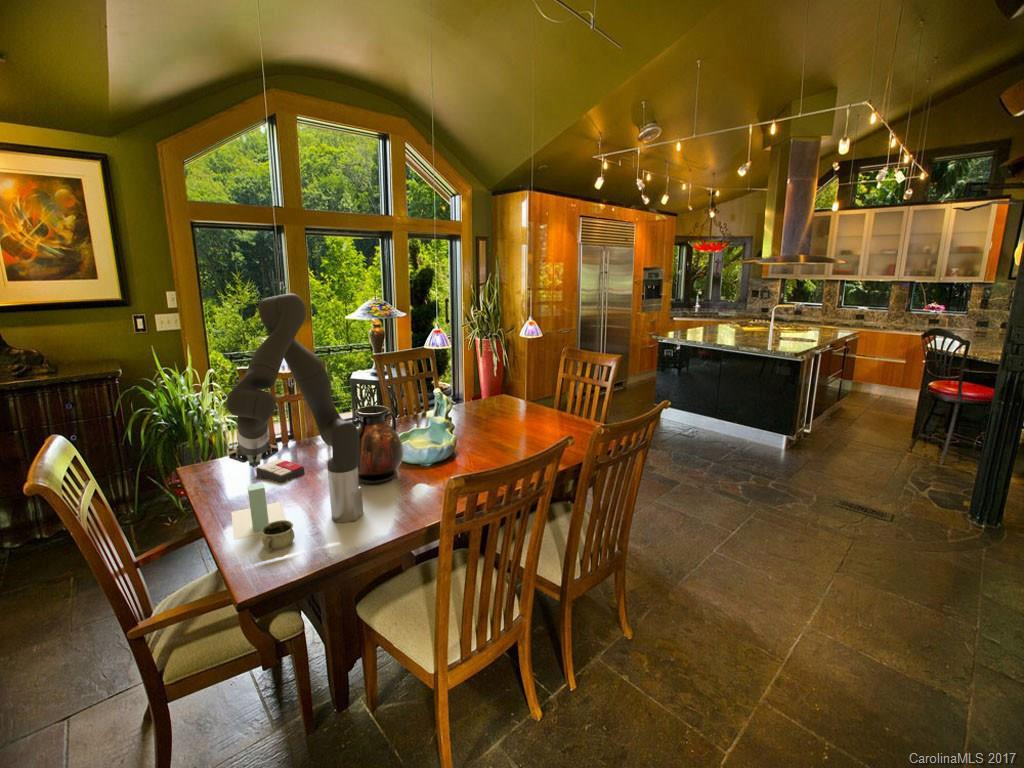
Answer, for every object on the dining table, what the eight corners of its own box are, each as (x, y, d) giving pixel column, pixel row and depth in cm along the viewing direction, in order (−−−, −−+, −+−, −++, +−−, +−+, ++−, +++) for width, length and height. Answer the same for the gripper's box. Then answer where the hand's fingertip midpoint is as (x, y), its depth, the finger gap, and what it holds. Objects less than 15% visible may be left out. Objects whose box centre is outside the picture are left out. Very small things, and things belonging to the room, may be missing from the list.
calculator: (280, 475, 189) (255, 466, 195) (281, 485, 190) (256, 476, 196) (304, 465, 198) (279, 457, 205) (305, 475, 199) (280, 466, 206)
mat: (288, 528, 156) (288, 526, 156) (234, 541, 149) (234, 539, 149) (280, 503, 173) (280, 501, 173) (231, 514, 165) (231, 512, 165)
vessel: (276, 535, 153) (274, 516, 151) (304, 536, 152) (302, 518, 151) (253, 556, 141) (250, 537, 140) (282, 559, 140) (280, 539, 139)
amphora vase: (386, 463, 210) (383, 399, 203) (415, 478, 195) (412, 409, 189) (338, 477, 195) (332, 409, 189) (365, 494, 180) (360, 421, 174)
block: (269, 529, 155) (264, 487, 151) (253, 532, 152) (248, 490, 149) (267, 523, 158) (263, 482, 155) (252, 526, 156) (247, 485, 153)
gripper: (278, 421, 137) (277, 449, 150) (224, 426, 131) (227, 456, 144) (282, 444, 134) (280, 472, 147) (225, 451, 128) (229, 479, 140)
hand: (254, 464), depth 145 cm, fingers closed
